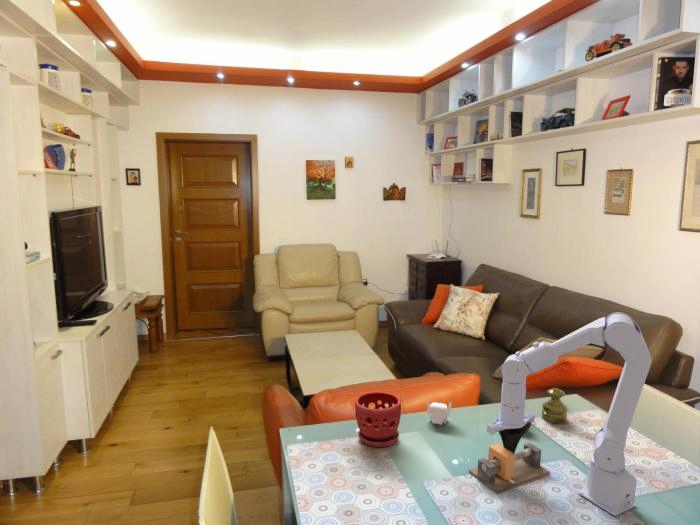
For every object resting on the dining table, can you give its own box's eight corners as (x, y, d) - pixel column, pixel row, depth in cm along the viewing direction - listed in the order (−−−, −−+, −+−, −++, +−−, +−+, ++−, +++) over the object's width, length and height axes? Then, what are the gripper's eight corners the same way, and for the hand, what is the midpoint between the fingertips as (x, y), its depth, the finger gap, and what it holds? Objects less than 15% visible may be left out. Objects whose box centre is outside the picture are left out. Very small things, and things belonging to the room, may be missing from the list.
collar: (513, 476, 125) (515, 454, 124) (505, 480, 124) (506, 457, 123) (496, 464, 130) (497, 443, 129) (487, 467, 129) (488, 446, 128)
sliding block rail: (549, 473, 128) (551, 455, 128) (497, 493, 120) (498, 474, 119) (519, 454, 137) (520, 437, 136) (468, 472, 129) (469, 454, 128)
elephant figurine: (423, 427, 151) (424, 405, 150) (427, 413, 161) (428, 392, 159) (448, 431, 149) (450, 409, 148) (452, 417, 158) (453, 395, 157)
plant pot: (400, 429, 150) (401, 391, 148) (400, 452, 137) (401, 411, 135) (356, 426, 151) (357, 388, 150) (352, 449, 139) (353, 408, 137)
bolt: (514, 415, 165) (523, 436, 150) (501, 406, 165) (508, 426, 150) (525, 400, 163) (534, 421, 149) (511, 392, 164) (519, 411, 149)
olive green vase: (536, 415, 161) (538, 385, 159) (555, 412, 163) (558, 383, 161) (551, 426, 154) (554, 395, 152) (571, 422, 156) (574, 392, 154)
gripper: (521, 391, 132) (517, 439, 134) (479, 402, 125) (476, 453, 127) (542, 402, 126) (538, 452, 128) (500, 414, 119) (496, 467, 121)
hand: (509, 453), depth 127 cm, fingers closed
